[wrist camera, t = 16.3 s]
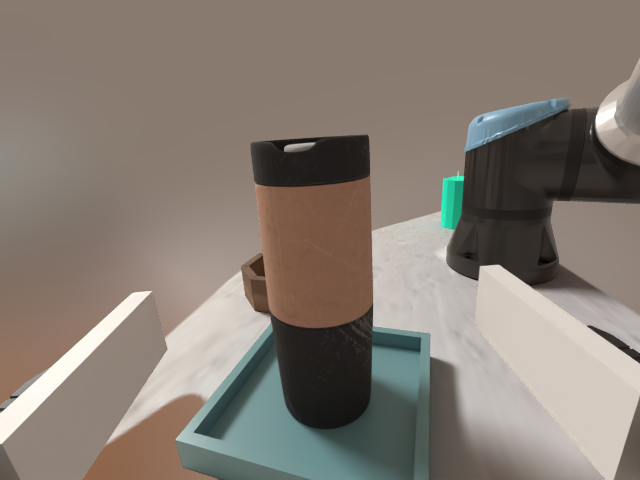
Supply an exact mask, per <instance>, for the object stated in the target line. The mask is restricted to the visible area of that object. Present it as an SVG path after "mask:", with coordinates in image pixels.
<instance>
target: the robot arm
mask: <svg viewBox="0 0 640 480" xmlns="http://www.w3.org/2000/svg"><path fill="white" fill-rule="evenodd" d="M570 106H571V103H570V102H569V99H568V98H559V99H553V100H548V101H541V102H536V103H531V104H526V105H521V106H516V107H511V108H507V109H502V110H498V111H493V112H489V113H486V114H482V115H479V116H478V117H476V118H475V119H474V120H473V121H472V122H471V124H470V125H469V130H468V136H467V144H466V148H465V151H464V152H466V156H465V171H464V184H463V197H462V210H461V216H460V219H459V221H458V223H457V226H456V228H455V230H454V233H453V235H452V237H451V239H450V242H449V244H448V247H447V256H446V261H447V264H448V265H449V266H450V267H451V268H452V269H454V270H455V271H457V272H459V273H461V274H463V275H466V276H468V277H471V278H475V279H478V291H477V301H476V311H475V322H474V326H475V327H476V328H477V329H478V331H479V332H480V333H481V334H482V335H483V336H484V338H485V339H486V340H487V341H488V342H489V343H490V345H491V346H492V347H493V348H494V349H495V350H496V352H497V353H498V354H499V355H500V356H501V358H502V359H503V360H504V361H505V362H506V363H507V365H508V366H509V367H510V368H511V369H512V370H513V372H514V373H515V374H516V375H517V376H518V377H519V379H520V380H521V381H522V382H523V383H524V385H525V386H526V387H527V388H528V389H529V390H530V392H531V393H532V394H533V395H534V396H535V397H536V399H537V400H538V401H539V402H540V403H541V405H542V406H543V407H544V408H545V409H546V410H547V412H548V413H549V414H550V415H551V416H552V417H553V419H554V420H555V421H556V422H557V423H558V424H559V426H560V427H561V428H562V429H563V430H564V432H565V433H566V434H567V435H568V436H569V437H570V439H571V440H572V441H573V442H574V443H575V444H576V446H577V447H578V448H579V449H580V450H581V451H582V453H583V454H584V455H585V456H586V457H587V459H588V460H589V461H590V462H591V463H592V464H593V466H594V467H595V468H596V469H597V470H598V471H599V473H600V474H601V475H602V476H603V477H604V479H605V480H640V353H638V352H637V351H635V350H634V349H630V348H629V346H628V345H626V344H625V343H623V342H622V341H620V340H619V339H617V338H616V337H614V336H613V335H611V334H609V333H607V332H604V331H602V330H600V329H598V328H595V327H593V326H591V325H590V326H585V325H584V324H583V323H581V322H580V321H578V320H577V319H575V318H574V317H573V316H571V315H570V314H568V313H567V312H565V311H564V310H563V309H561V308H560V307H558V306H557V305H555V304H554V303H553V302H551V301H550V300H548V299H547V298H546V297H544V296H543V295H541V294H540V293H538V292H537V291H536V290H534V289H533V288H531V287H530V286H528V284H537V283H542V282H546V281H548V280H551V279H552V278H554V277H555V276H556V274H557V268H558V263H559V257H558V252H557V248H556V243H555V239H554V234H553V230H552V226H551V212H552V206H553V201H582V202H602V203H626V204H640V58H639V61H638V63H637V65H636V67H635V70H634V72H633V74H632V76H631V78H630V80H628V81H626V82H624V83H623V84H621V85H619V86H618V87H617V88H616V89H614V90H613V91H612V92H611V93H610V94H609V95H608V96H607V97H606V98H605V99H604V101H603V102H602V104H601V105H600V107H593V108H583V109H568V108H570ZM166 351H167V346H166V342H165V338H164V334H163V331H162V327H161V323H160V319H159V315H158V311H157V307H156V304H155V300H154V296H153V292H152V291H147V292H134V293H132V294H131V295H130V296H129V297H128V298H126V299H125V300H124V301H123V302H122V303H121V304H120V305H119V306H118V307H117V308H116V309H114V310H113V311H112V312H111V313H110V314H109V315H108V316H107V317H106V318H105V319H103V320H102V321H101V322H100V323H99V324H98V325H97V326H96V327H95V328H94V329H92V330H91V331H90V332H89V333H88V334H87V335H86V336H85V337H84V338H83V339H81V341H79V342H78V343H77V344H76V345H75V346H74V347H73V348H72V349H71V350H70V351H68V352H67V353H66V354H65V355H64V356H63V357H62V358H61V359H60V360H58V361H57V362H56V363H55V364H54V365H53V366H52V367H51V368H50V369H46V370H45V371H43V372H42V373H40V374H38V375H37V376H35V377H34V378H32V379H30V380H29V381H27V382H26V383H25V384H24V385H23V386H21V387H20V388H19V389H18V390H17V391H16V392H15V393H13V394H12V395H11V396H10V399H7V400H6V401H4V402H3V403H2V404H1V405H0V480H82V479H83V478H84V476H85V475H86V473H87V472H88V470H89V469H90V467H91V465H92V464H93V462H94V461H95V459H96V458H97V456H98V455H99V453H100V452H101V450H102V449H103V447H104V446H105V444H106V442H107V441H108V439H109V438H110V436H111V435H112V433H113V432H114V430H115V429H116V427H117V426H118V424H119V423H120V421H121V419H122V418H123V416H124V415H125V413H126V412H127V410H128V409H129V407H130V406H131V404H132V403H133V401H134V400H135V398H136V397H137V395H138V393H139V392H140V390H141V389H142V387H143V386H144V384H145V383H146V381H147V380H148V378H149V377H150V375H151V374H152V372H153V370H154V369H155V367H156V366H157V364H158V363H159V361H160V360H161V358H162V357H163V355H164V354H165V352H166Z"/></svg>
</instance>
